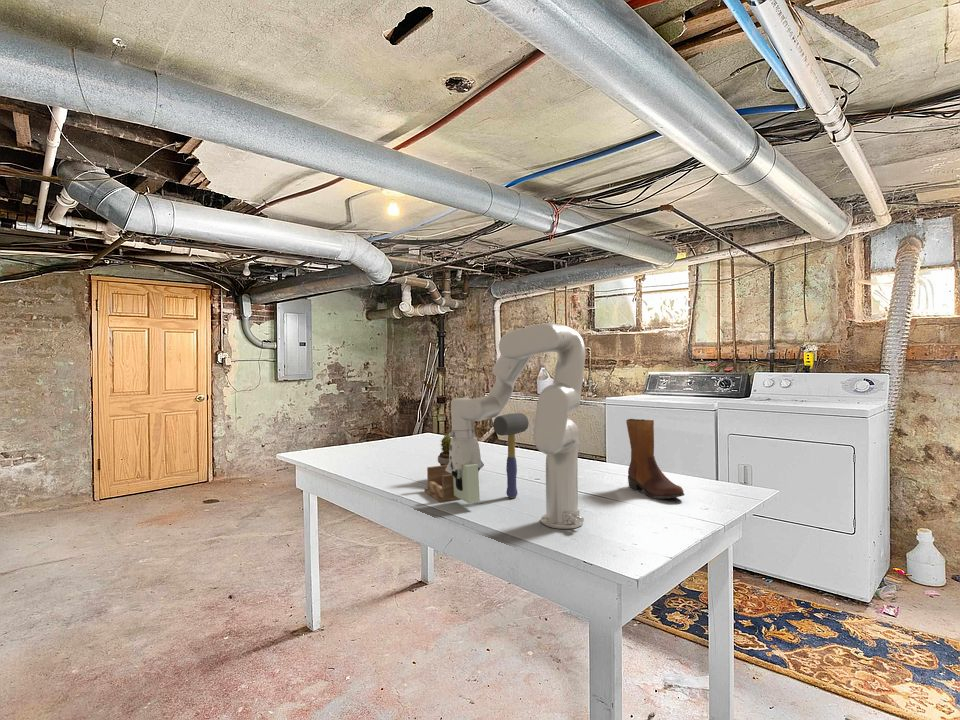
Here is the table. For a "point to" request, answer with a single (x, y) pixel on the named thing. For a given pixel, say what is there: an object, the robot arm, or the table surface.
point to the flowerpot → (444, 451)
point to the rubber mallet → (511, 444)
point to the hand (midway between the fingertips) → (466, 488)
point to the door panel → (468, 484)
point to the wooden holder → (440, 484)
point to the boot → (647, 463)
